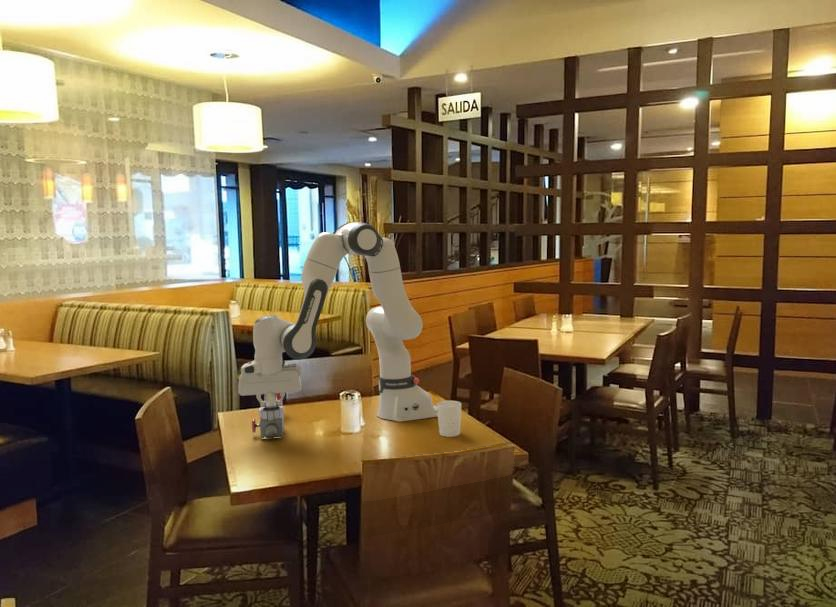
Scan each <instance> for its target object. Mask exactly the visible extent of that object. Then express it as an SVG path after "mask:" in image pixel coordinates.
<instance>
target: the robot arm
mask: <svg viewBox="0 0 836 607" xmlns="http://www.w3.org/2000/svg"><path fill="white" fill-rule="evenodd" d="M346 255H352V256H364V258H365V260H366V263H367V267H368V268H367V269H368V275H369V280H370V286H371V291H372V295H374V297H375V299H377V301H378V302H379V304H380V305H379V306H376V307H372V308H371V309H370V310H369V311H368V312H367V313H366V317H365V325H366V327H367V329H368V330H369V331H370V333H371V335H372V337H373V339H374V342H375V343H374V344H375V346H376V349H377V354H378V359H379V360H378V361H379V362H378V364H379V377H378V391H379V401H378V402H379V404H378V409H377V414H376V415H377V417H378V418H381V419H383V420H389V421H395V422H399V423H401V422H409V421H414V420H422V419H429V418H436V417H437V418H438V413H437V405H435V404H434V402H433V398H432V396H431V394H429V392H427V391H426V390H425V389H424V388H422V387H420V386H419V385H418V384H419V383H420V379H419V378H418V377H416V376H415V375H413V374H412V372H411V369H412V368H411V354H410V352H409V350H408V349H407V348H406V345H405V344H404V342H403V341H407V340H414V339H416V338H417V337H418V336H419V335H420V334H421V333H422V330H423V323H424V322H423V318H422V317H421V315H420V313H418V312H417V311H416V310H415V308H414V307H413V306H412V303H411V301H410V300H409V297H408V295H407V292H406V290H405V286H404V280H403V276H402V270H401V265H400V260H399V256H398V252H397V249H396V247H395V244H394V242H393V241H392V239H391V238H388V237H383V236H381V235H380V233H379V232H378V230H377V229H376V228H375V227H374V226H373V225H371V224H370V223H368V222H367V223H366V222H360V221H359V222H358V221H354V222H348V223H344V224H341V226H339V227H338V228H337V229H336V230H334V232H329V231H324V232H320V233H319V234H318V235H317V237H316V238H315V239H314V241H313V243H312V244H311V247H310V248H309V250H308V252H307V255H306V258H305V261H304V263H303V267H302V271H301V276H300V278H301V279H300V280H301V283H302V286H303V292H304V294H303V295H304V296H303V302H302V305H301V308H300V312H299V314H298V317H297V321H296V323H294V322H291V321H287V320H286V319H283V318H281V317H279V316H277V315H275V314H272V315H271V314H270V315H265V316H261V317H259V318H258V319H256V320H255V322H254V323H253V329H252V338H253V339H252V341H253V347H254V350H255V351H254V360H252V361H248V362H247V363H243V365H242V366H241V367H240V373H241V374H240V376H239V378H238V384H237V385H238V386H237V390H238V392H237V393H238V394H239V395H240V396H256V399H257V401H258V402H259V405H260V407H259V408H261V407H265V401H264V400H263V399H262V398H261V397H262V395H264V394H267V392H273V393H280V396H281V398H280V400H277V406H282V400H284V398H285V396H286V395H285V394H286V393H297V392H300V391H301V389H302V380H301V376H302V367H301V365H299V364H297V363H283V353H286V355H287V356H288V357H290V358H291V359H293V360H305V359H307V358H309V357H310V356H311V355H312V354H313V353H314V351H315V349H316V345H317V339H316V338H317V336H316V331H317V325H318V322H319V320H320V316H321V313H322V311H323V307H324V304H325V301H326V298H327V296H328V294H329V291H330V288H331V287H332V284H333V283H334V280H335V278H336V276H337V273H338V269H339V267H340V264H341V262H342V260H343V259H344V258H345V256H346Z"/></svg>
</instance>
